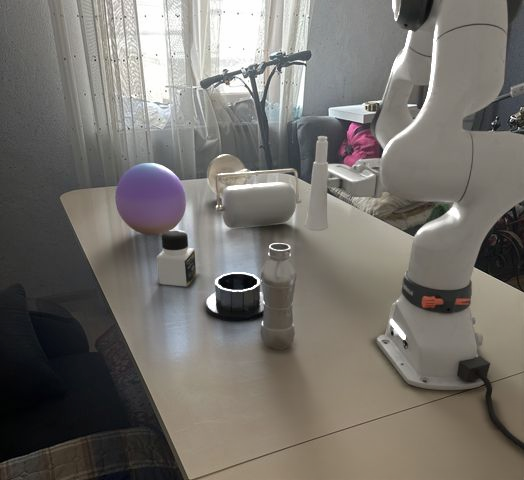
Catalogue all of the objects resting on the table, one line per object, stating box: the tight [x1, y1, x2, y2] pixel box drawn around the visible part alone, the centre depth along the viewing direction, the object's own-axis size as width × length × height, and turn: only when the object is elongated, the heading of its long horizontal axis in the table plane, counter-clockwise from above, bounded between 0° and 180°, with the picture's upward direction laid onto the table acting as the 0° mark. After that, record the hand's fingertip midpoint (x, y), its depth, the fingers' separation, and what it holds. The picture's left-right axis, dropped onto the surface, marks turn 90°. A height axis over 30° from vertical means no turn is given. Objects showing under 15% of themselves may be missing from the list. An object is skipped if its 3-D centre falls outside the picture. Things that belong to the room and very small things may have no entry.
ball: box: [114, 162, 187, 237], centre depth 147 cm, size 20×20×20 cm
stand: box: [205, 272, 264, 323], centre depth 112 cm, size 14×14×6 cm
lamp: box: [206, 154, 302, 229], centre depth 167 cm, size 27×23×40 cm
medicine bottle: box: [156, 229, 197, 288], centre depth 122 cm, size 7×7×12 cm
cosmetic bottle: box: [304, 135, 329, 232], centre depth 128 cm, size 6×6×22 cm
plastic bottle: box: [259, 242, 298, 350], centre depth 95 cm, size 6×7×20 cm
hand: (316, 181), depth 128 cm, fingers closed on cosmetic bottle
